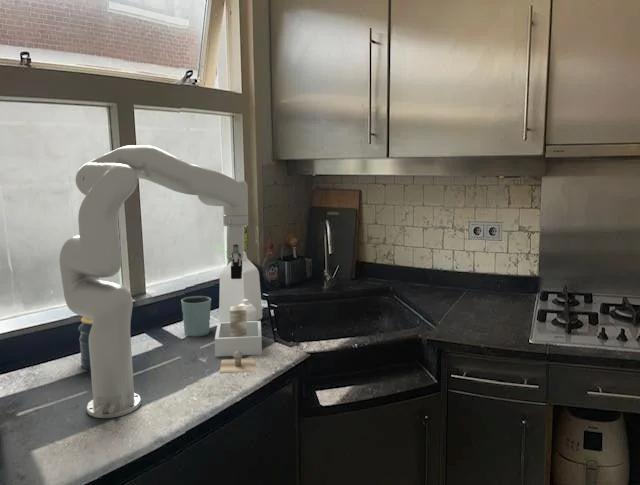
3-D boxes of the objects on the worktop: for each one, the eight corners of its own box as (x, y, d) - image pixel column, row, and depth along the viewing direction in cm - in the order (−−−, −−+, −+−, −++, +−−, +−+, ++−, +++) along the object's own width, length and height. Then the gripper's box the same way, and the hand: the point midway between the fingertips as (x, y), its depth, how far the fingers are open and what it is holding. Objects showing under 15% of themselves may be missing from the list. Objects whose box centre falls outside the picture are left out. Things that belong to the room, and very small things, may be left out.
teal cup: (177, 335, 185) (175, 302, 183) (191, 326, 195) (189, 294, 193) (204, 338, 183) (203, 304, 181) (216, 328, 192) (215, 296, 190)
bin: (261, 358, 164) (261, 336, 163) (215, 361, 162) (214, 339, 161) (260, 340, 180) (260, 320, 179) (218, 342, 178) (217, 322, 177)
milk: (245, 326, 195) (243, 256, 190) (219, 322, 199) (216, 254, 195) (262, 317, 205) (261, 251, 201) (237, 314, 210) (235, 248, 206)
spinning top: (254, 328, 193) (253, 296, 191) (259, 335, 186) (258, 301, 184) (233, 330, 190) (232, 297, 188) (237, 337, 183) (236, 303, 181)
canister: (82, 358, 165) (78, 302, 162) (127, 352, 169) (123, 298, 167) (79, 374, 153) (75, 314, 150) (128, 367, 157) (124, 309, 155)
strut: (231, 350, 168) (229, 310, 166) (231, 345, 173) (230, 306, 171) (247, 350, 169) (246, 310, 167) (247, 344, 174) (246, 305, 171)
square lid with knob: (255, 376, 151) (255, 356, 150) (219, 378, 150) (219, 358, 149) (255, 362, 161) (255, 344, 160) (221, 364, 160) (221, 345, 159)
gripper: (224, 217, 172) (225, 269, 175) (221, 224, 155) (223, 281, 158) (248, 217, 173) (249, 269, 176) (248, 223, 156) (248, 281, 159)
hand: (236, 275), depth 167 cm, fingers open, 9 cm apart
